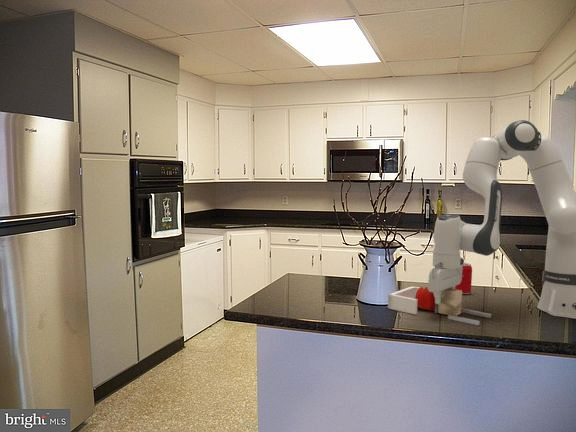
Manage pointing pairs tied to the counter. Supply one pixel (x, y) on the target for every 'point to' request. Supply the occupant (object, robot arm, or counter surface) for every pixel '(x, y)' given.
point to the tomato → (425, 299)
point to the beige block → (450, 302)
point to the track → (469, 319)
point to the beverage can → (465, 279)
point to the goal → (404, 300)
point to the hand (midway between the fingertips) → (444, 301)
